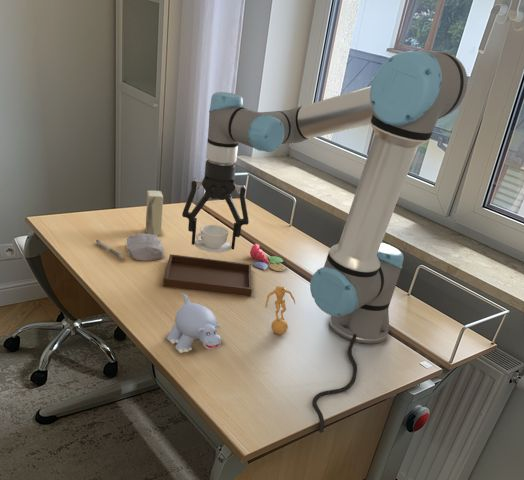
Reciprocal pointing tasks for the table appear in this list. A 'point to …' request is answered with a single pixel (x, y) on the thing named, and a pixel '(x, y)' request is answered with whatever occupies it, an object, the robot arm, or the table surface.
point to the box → (154, 212)
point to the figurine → (279, 324)
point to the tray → (208, 275)
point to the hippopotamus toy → (194, 327)
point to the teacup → (213, 239)
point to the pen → (109, 249)
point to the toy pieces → (265, 259)
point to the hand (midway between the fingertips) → (213, 245)
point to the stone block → (144, 247)
